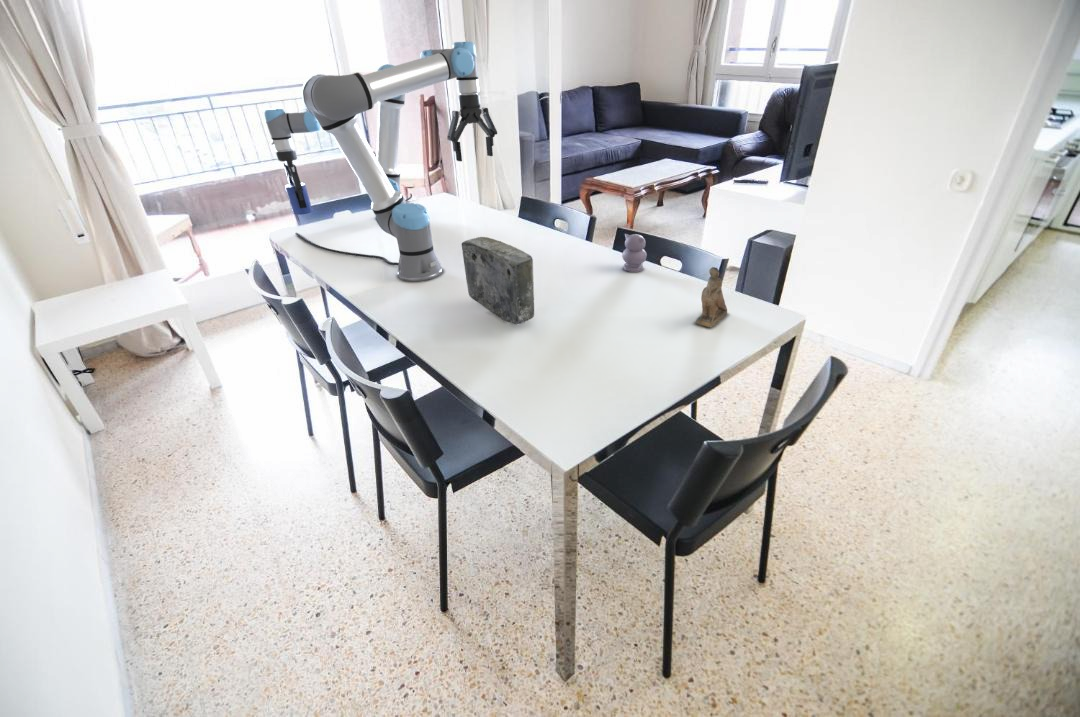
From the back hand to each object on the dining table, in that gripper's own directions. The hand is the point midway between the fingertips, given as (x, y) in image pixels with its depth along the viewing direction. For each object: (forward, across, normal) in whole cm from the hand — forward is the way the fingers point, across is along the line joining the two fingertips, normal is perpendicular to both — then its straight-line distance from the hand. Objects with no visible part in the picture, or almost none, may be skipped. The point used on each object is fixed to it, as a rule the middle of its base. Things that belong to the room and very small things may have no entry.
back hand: (301, 205), depth 217 cm
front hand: (-20, +65, +54) cm, 87 cm away
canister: (+3, 0, 0) cm, 3 cm away
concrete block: (+13, +126, +26) cm, 129 cm away
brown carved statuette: (+13, +165, +71) cm, 180 cm away
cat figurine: (+13, +124, +81) cm, 148 cm away
